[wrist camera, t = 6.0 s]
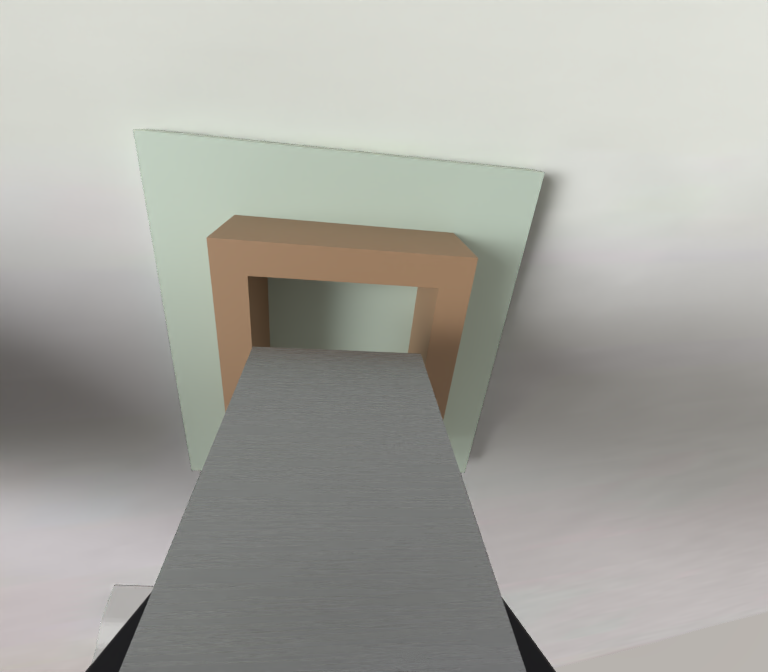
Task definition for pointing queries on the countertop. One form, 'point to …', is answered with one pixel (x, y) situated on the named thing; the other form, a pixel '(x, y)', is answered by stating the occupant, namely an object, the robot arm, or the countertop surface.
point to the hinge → (119, 612)
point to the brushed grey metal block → (327, 533)
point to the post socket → (330, 263)
